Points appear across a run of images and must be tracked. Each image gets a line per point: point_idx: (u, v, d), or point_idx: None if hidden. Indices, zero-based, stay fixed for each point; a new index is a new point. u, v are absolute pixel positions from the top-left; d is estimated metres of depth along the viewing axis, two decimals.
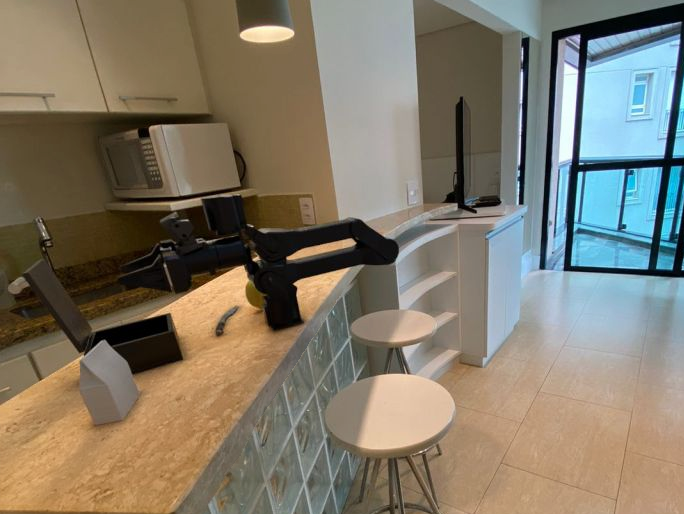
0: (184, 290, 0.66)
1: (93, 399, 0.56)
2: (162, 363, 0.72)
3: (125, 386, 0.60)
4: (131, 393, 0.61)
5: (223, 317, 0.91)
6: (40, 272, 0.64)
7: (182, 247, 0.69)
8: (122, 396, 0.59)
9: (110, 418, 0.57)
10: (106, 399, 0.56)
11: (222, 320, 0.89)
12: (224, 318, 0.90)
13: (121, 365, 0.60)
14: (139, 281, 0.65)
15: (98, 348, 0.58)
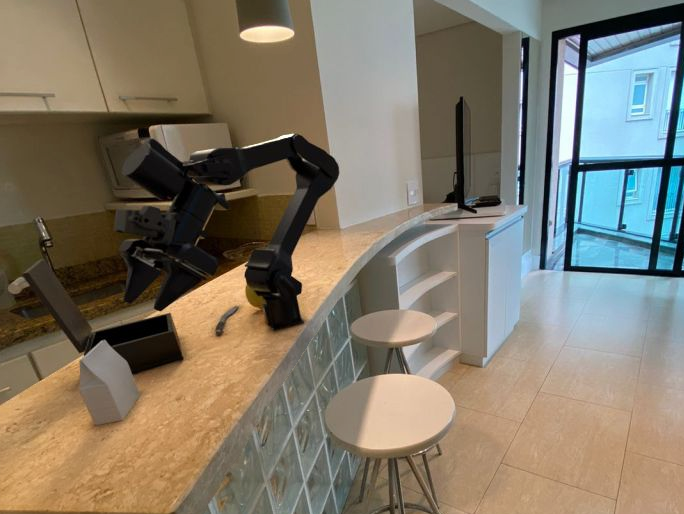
0: (216, 268, 0.61)
1: (93, 399, 0.56)
2: (162, 363, 0.72)
3: (125, 386, 0.60)
4: (131, 393, 0.61)
5: (223, 317, 0.91)
6: (40, 272, 0.64)
7: (165, 235, 0.60)
8: (122, 396, 0.59)
9: (110, 418, 0.57)
10: (106, 399, 0.56)
11: (222, 320, 0.89)
12: (224, 318, 0.90)
13: (121, 365, 0.60)
14: (173, 294, 0.59)
15: (98, 348, 0.58)
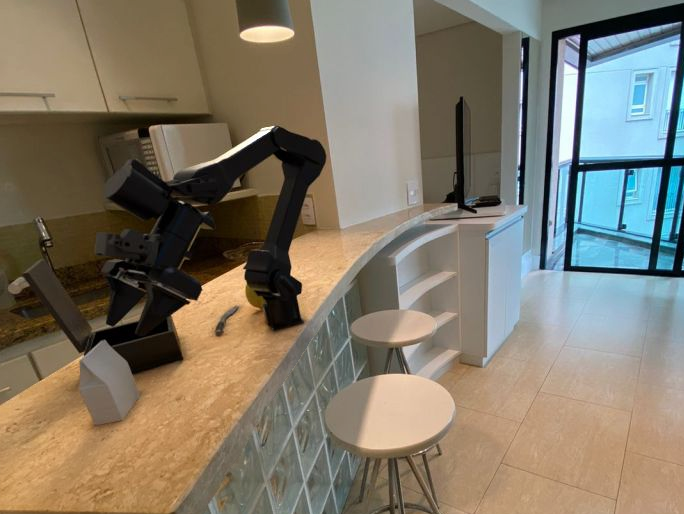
0: (200, 291, 0.59)
1: (93, 399, 0.56)
2: (162, 363, 0.72)
3: (125, 386, 0.60)
4: (131, 393, 0.61)
5: (223, 317, 0.91)
6: (40, 272, 0.64)
7: (147, 258, 0.58)
8: (122, 396, 0.59)
9: (110, 418, 0.57)
10: (106, 399, 0.56)
11: (222, 320, 0.89)
12: (224, 318, 0.90)
13: (121, 365, 0.60)
14: (155, 319, 0.58)
15: (98, 348, 0.58)
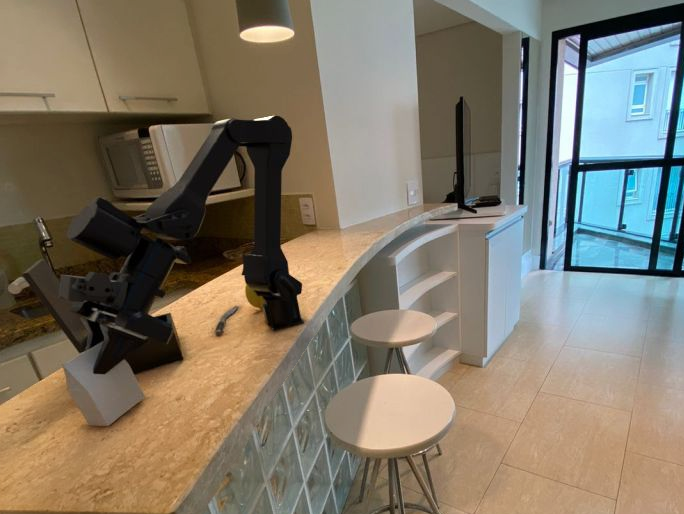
0: (171, 334, 0.56)
1: (81, 401, 0.56)
2: (162, 363, 0.72)
3: (120, 389, 0.59)
4: (129, 396, 0.60)
5: (223, 317, 0.91)
6: (40, 272, 0.64)
7: (115, 300, 0.56)
8: (112, 400, 0.57)
9: (98, 421, 0.57)
10: (90, 404, 0.55)
11: (222, 320, 0.89)
12: (224, 318, 0.90)
13: (118, 368, 0.58)
14: (113, 360, 0.57)
15: (93, 350, 0.57)
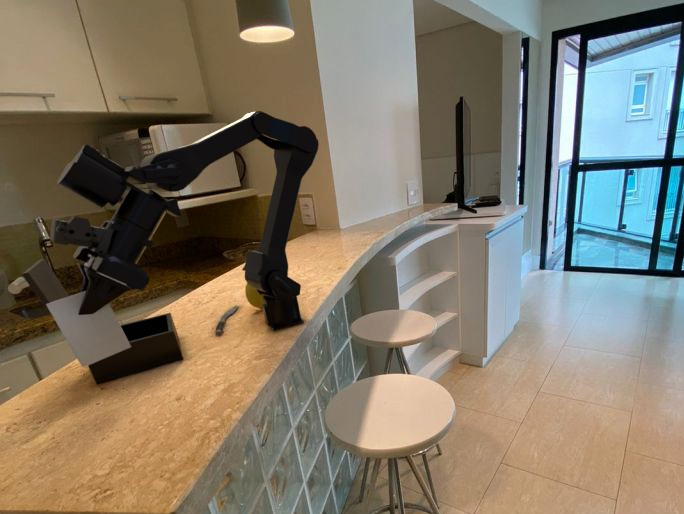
0: (146, 282, 0.57)
1: None
2: (162, 363, 0.72)
3: (102, 336, 0.61)
4: (112, 344, 0.62)
5: (223, 317, 0.91)
6: (40, 272, 0.64)
7: (99, 246, 0.58)
8: (91, 345, 0.60)
9: None
10: None
11: (222, 320, 0.89)
12: (224, 318, 0.90)
13: (102, 316, 0.61)
14: (97, 303, 0.60)
15: (82, 294, 0.60)
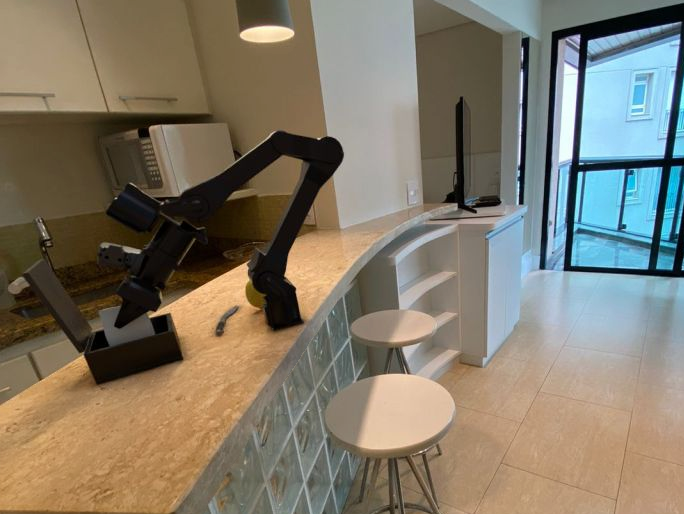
0: (158, 304, 0.66)
1: None
2: (162, 363, 0.72)
3: None
4: None
5: (223, 317, 0.91)
6: (40, 272, 0.64)
7: (131, 268, 0.68)
8: None
9: None
10: None
11: (222, 320, 0.89)
12: (224, 318, 0.90)
13: (138, 327, 0.72)
14: (128, 317, 0.70)
15: None
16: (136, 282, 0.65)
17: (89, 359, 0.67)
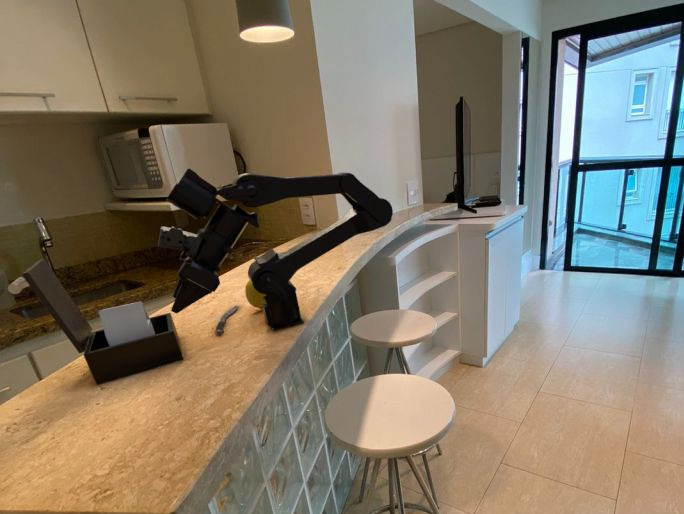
0: (217, 284, 0.69)
1: None
2: (162, 363, 0.72)
3: None
4: None
5: (223, 317, 0.91)
6: (40, 272, 0.64)
7: (189, 251, 0.71)
8: None
9: None
10: None
11: (222, 320, 0.89)
12: (224, 318, 0.90)
13: (138, 327, 0.72)
14: (185, 301, 0.71)
15: (126, 306, 0.72)
16: (197, 263, 0.67)
17: (89, 359, 0.67)
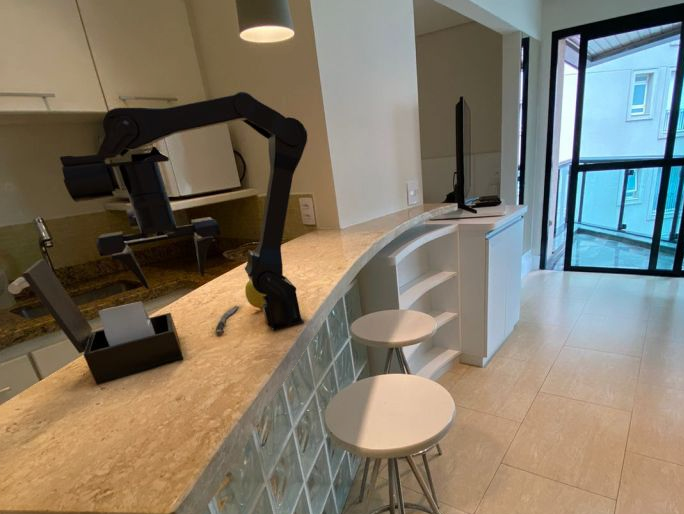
0: (98, 247, 0.65)
1: None
2: (162, 363, 0.72)
3: None
4: None
5: (223, 317, 0.91)
6: (40, 272, 0.64)
7: None
8: None
9: None
10: None
11: (222, 320, 0.89)
12: (224, 318, 0.90)
13: (138, 327, 0.72)
14: None
15: (126, 306, 0.72)
16: (106, 234, 0.68)
17: (89, 359, 0.67)
